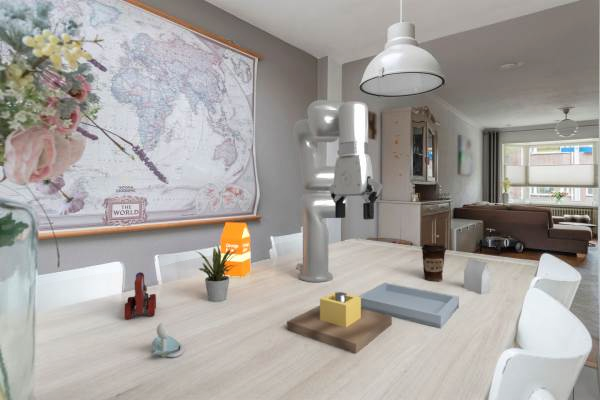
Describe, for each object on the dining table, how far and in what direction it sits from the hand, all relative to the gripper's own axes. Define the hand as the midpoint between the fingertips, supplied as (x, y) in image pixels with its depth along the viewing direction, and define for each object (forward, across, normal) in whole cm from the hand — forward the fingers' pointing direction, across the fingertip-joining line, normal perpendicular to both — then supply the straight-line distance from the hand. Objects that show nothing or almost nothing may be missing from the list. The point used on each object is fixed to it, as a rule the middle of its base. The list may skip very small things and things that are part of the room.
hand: (353, 218), depth 84 cm
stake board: (+26, +2, -7) cm, 27 cm away
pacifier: (+26, -11, -43) cm, 51 cm away
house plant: (+25, -34, -21) cm, 47 cm away
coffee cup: (+24, -7, +50) cm, 56 cm away
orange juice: (+24, -57, -4) cm, 62 cm away
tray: (+25, +4, +17) cm, 31 cm away
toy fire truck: (+25, -37, -42) cm, 61 cm away
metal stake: (+24, +2, -7) cm, 25 cm away
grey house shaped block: (+25, +9, +48) cm, 55 cm away
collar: (+24, +2, -7) cm, 25 cm away
